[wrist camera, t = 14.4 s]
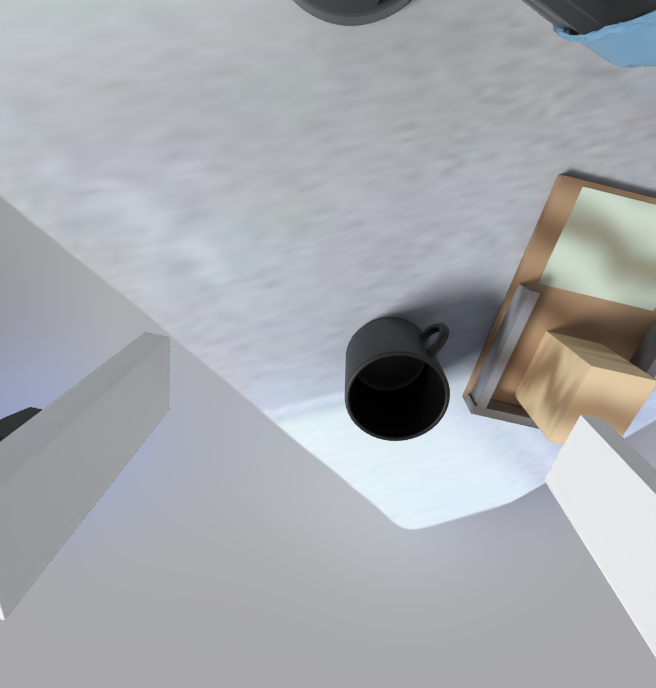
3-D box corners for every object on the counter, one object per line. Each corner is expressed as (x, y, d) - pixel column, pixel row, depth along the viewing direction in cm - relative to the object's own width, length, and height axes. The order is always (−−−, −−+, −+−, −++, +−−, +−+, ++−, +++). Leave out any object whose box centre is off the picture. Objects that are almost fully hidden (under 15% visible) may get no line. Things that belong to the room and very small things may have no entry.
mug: (466, 337, 41) (496, 378, 33) (388, 406, 45) (396, 458, 37) (405, 281, 39) (419, 308, 30) (328, 358, 43) (323, 401, 34)
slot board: (558, 175, 34) (579, 174, 31) (723, 216, 35) (761, 220, 32) (462, 396, 44) (471, 413, 41) (592, 425, 44) (611, 445, 41)
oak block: (546, 331, 39) (591, 366, 32) (601, 343, 39) (658, 381, 32) (514, 395, 42) (548, 440, 35) (565, 406, 42) (610, 454, 35)
